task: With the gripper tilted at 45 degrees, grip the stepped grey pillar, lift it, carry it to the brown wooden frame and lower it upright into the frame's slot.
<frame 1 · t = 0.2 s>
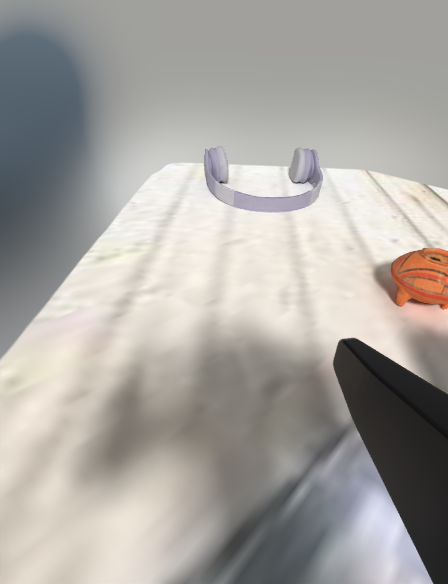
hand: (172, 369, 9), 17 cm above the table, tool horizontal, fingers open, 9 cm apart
pot: (417, 302, 40), on the table
headphones: (263, 194, 67), on the table
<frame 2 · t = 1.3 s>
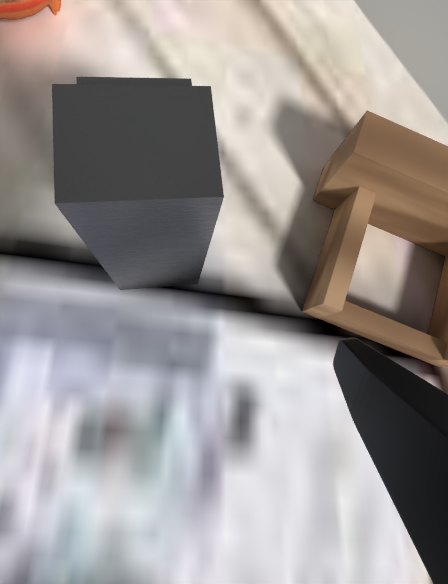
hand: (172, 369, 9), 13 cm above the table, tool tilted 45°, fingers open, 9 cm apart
pot: (20, 12, 25), on the table
stepped grey pillar: (157, 257, 23), on the table
brown wooden frame: (386, 278, 25), on the table
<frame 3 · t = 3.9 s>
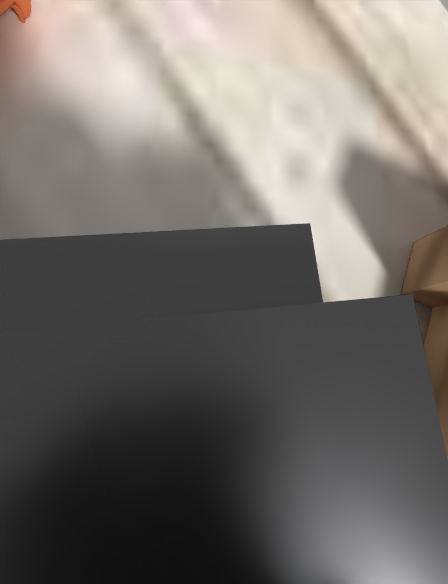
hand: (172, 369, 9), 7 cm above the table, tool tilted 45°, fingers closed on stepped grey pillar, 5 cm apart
stepped grey pillar: (175, 398, 15), on the table, touching gripper
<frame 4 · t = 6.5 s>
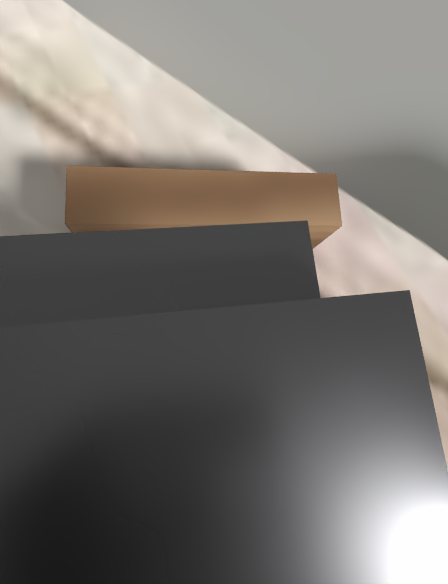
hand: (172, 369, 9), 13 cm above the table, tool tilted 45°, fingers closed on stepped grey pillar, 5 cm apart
stepped grey pillar: (175, 397, 15), point 7 cm above the table, touching gripper
brown wooden frame: (204, 309, 23), on the table
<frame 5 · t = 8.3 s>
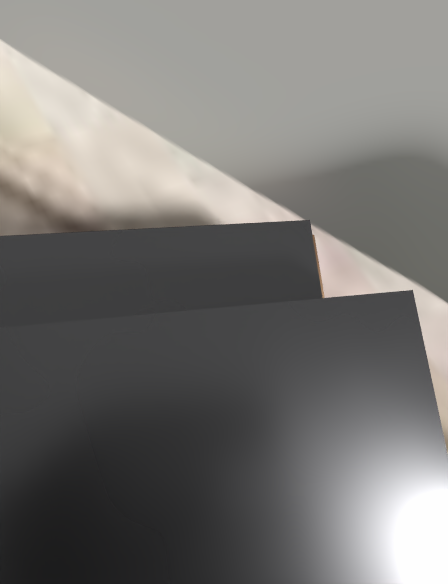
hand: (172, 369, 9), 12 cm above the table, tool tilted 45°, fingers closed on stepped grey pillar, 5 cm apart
stepped grey pillar: (175, 397, 15), point 5 cm above the table, touching gripper
when the fingers open (8 cm above the table, at t = 9.4 s): stepped grey pillar drops 1 cm, resting in brown wooden frame.
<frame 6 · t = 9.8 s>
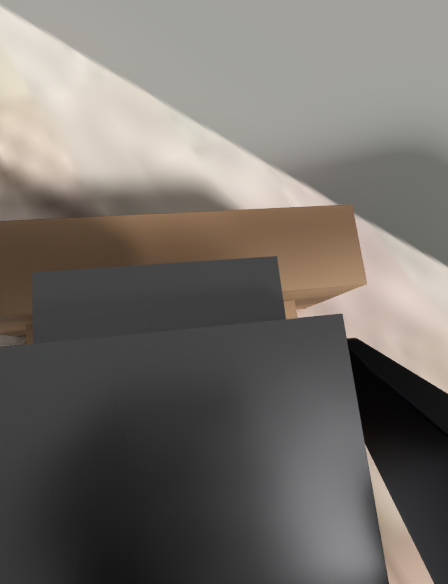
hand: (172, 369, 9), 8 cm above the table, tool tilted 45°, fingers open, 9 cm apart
stepped grey pillar: (175, 395, 16), resting in brown wooden frame
brown wooden frame: (175, 395, 16), on the table
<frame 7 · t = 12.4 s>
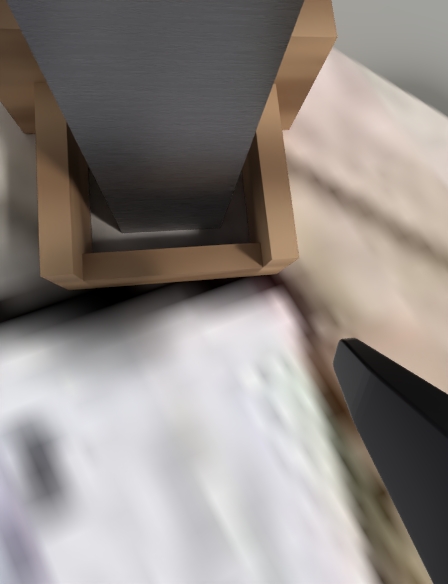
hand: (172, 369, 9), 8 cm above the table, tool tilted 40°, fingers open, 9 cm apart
stepped grey pillar: (169, 193, 18), resting in brown wooden frame
brown wooden frame: (169, 193, 18), on the table
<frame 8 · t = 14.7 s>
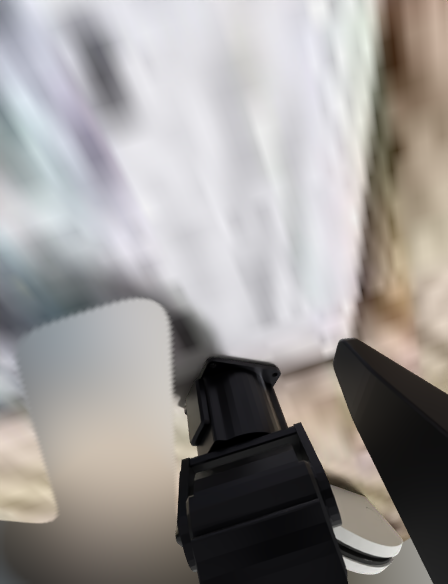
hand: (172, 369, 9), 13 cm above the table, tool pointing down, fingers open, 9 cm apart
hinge: (323, 486, 44), on the table
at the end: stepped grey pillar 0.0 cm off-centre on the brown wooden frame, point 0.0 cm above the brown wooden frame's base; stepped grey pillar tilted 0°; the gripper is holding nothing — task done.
